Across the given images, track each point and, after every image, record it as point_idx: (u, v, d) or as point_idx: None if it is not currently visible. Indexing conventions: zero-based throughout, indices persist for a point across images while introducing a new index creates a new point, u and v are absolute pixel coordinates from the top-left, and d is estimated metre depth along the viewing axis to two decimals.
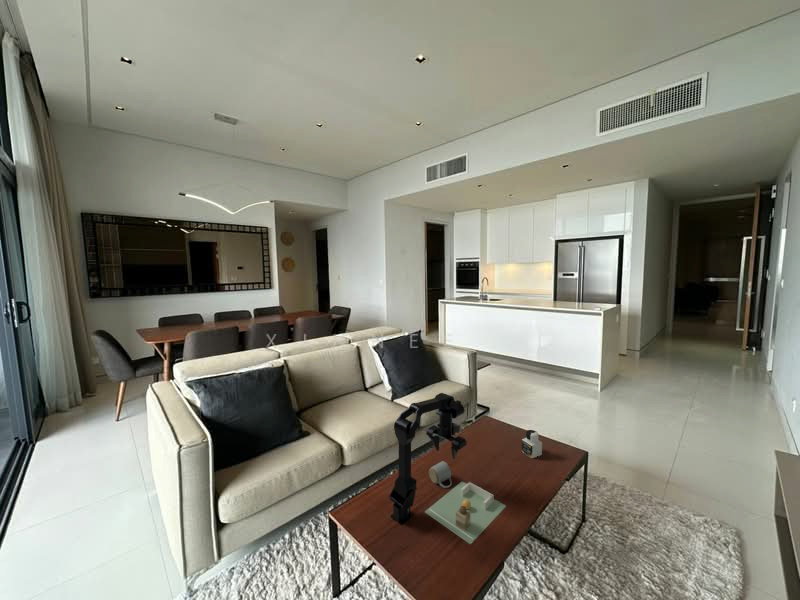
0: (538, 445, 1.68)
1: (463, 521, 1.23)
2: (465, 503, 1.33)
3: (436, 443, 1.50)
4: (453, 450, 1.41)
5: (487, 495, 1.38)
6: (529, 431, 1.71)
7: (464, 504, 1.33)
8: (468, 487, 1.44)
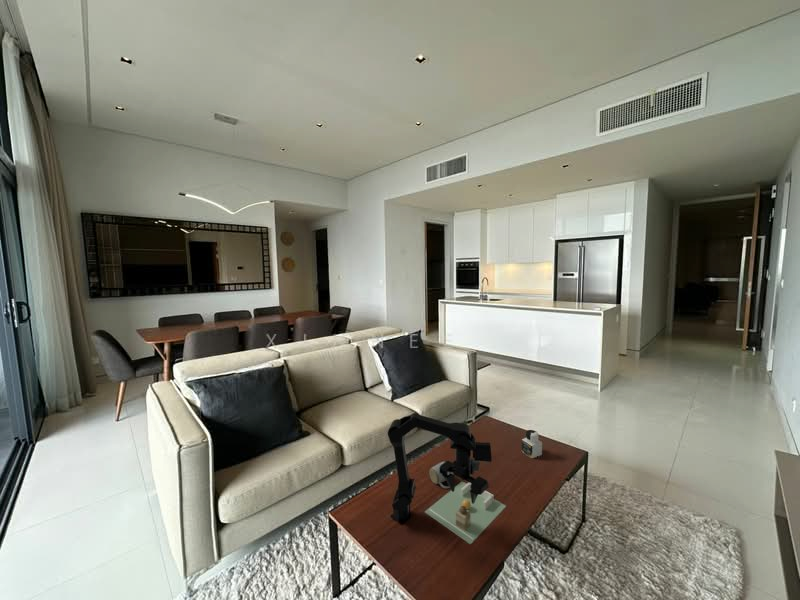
0: (538, 445, 1.68)
1: (463, 521, 1.23)
2: (465, 503, 1.33)
3: (451, 483, 1.27)
4: (473, 494, 1.18)
5: (487, 495, 1.38)
6: (529, 431, 1.71)
7: (464, 504, 1.33)
8: (468, 487, 1.44)
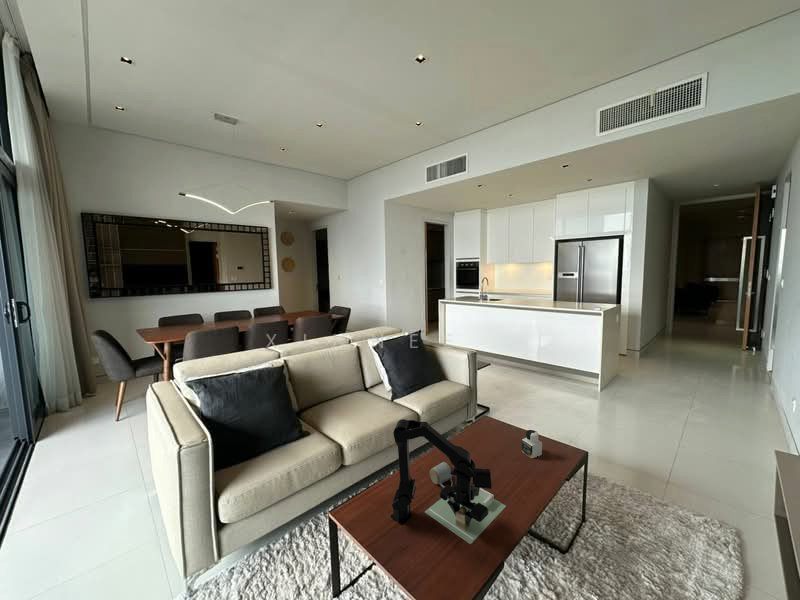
0: (538, 445, 1.68)
1: (463, 521, 1.23)
2: None
3: (456, 511, 1.27)
4: (467, 517, 1.21)
5: (487, 495, 1.38)
6: (529, 431, 1.71)
7: None
8: None
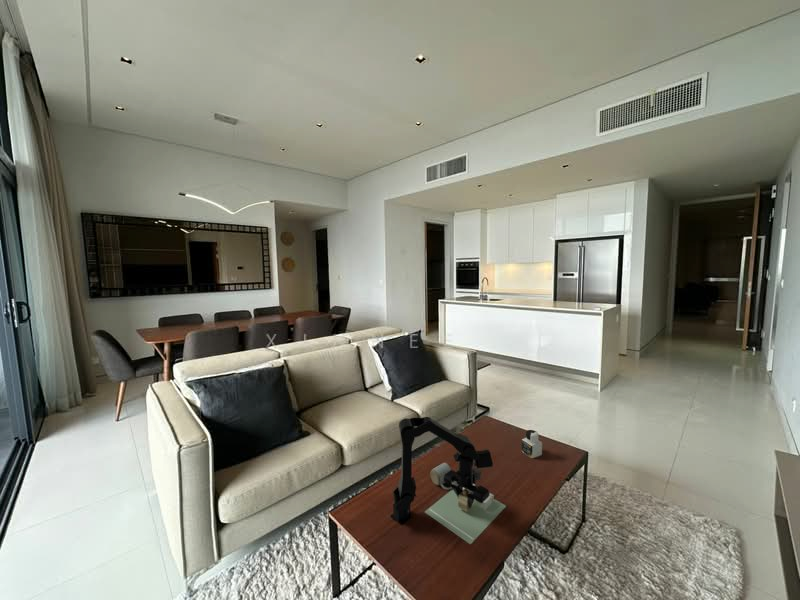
0: (538, 445, 1.68)
1: (466, 503, 1.31)
2: None
3: None
4: (469, 499, 1.29)
5: None
6: (529, 431, 1.71)
7: None
8: None
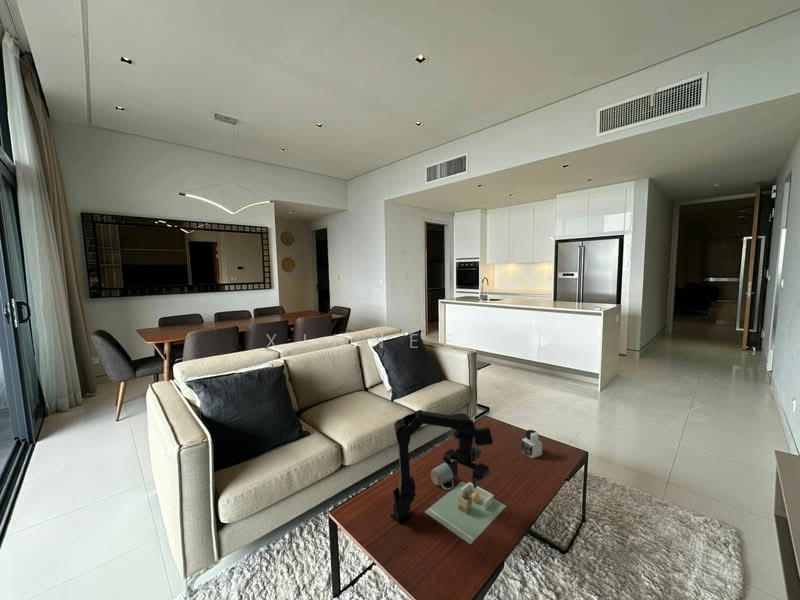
0: (538, 445, 1.68)
1: (465, 505, 1.31)
2: None
3: (454, 469, 1.35)
4: (474, 479, 1.26)
5: (487, 495, 1.38)
6: (529, 431, 1.71)
7: None
8: (468, 487, 1.44)
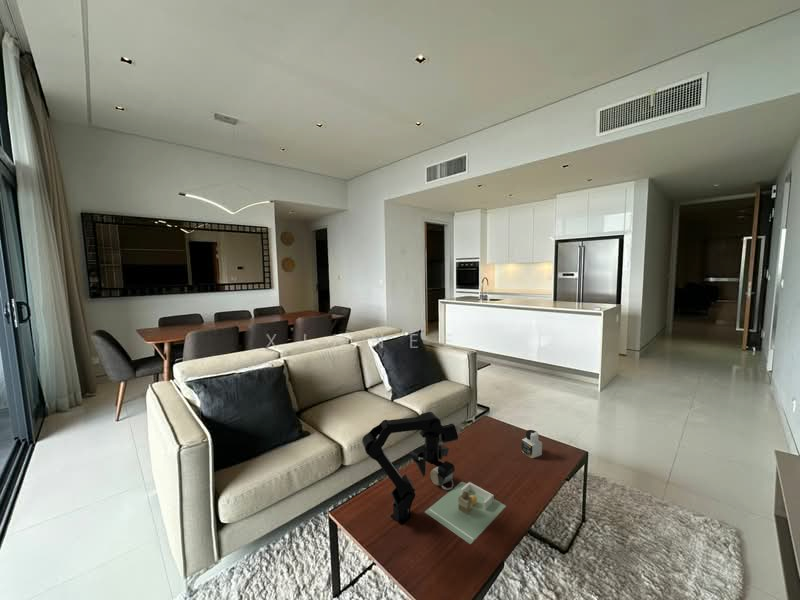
0: (538, 445, 1.68)
1: (465, 505, 1.31)
2: None
3: (422, 467, 1.36)
4: (440, 477, 1.27)
5: (487, 495, 1.38)
6: (529, 431, 1.71)
7: None
8: (468, 487, 1.44)
